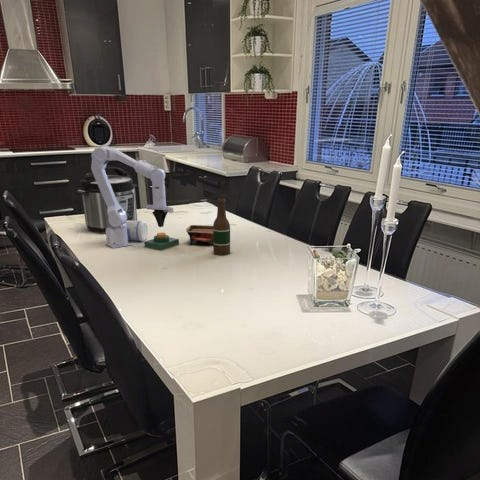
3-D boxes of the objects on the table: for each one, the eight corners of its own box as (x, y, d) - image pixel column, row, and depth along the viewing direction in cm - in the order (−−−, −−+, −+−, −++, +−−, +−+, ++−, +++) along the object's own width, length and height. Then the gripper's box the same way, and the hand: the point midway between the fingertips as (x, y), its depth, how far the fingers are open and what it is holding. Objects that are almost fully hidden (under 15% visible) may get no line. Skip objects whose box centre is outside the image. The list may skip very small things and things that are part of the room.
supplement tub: (142, 243, 224) (113, 242, 226) (149, 238, 232) (121, 236, 235) (139, 223, 219) (110, 222, 222) (147, 218, 228) (119, 217, 230)
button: (161, 238, 216) (161, 235, 215) (155, 237, 217) (155, 233, 217) (167, 237, 219) (167, 233, 218) (161, 235, 221) (160, 232, 220)
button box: (160, 250, 212) (160, 241, 210) (144, 247, 217) (143, 237, 215) (179, 244, 222) (178, 235, 220) (163, 241, 227) (162, 232, 225)
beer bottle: (228, 255, 206) (228, 200, 196) (211, 254, 207) (210, 199, 197) (231, 251, 213) (232, 197, 203) (215, 250, 214) (214, 196, 204)
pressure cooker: (80, 236, 234) (72, 170, 221) (85, 223, 259) (77, 164, 246) (141, 233, 241) (136, 169, 227) (140, 222, 266) (135, 163, 253)
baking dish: (217, 251, 219) (220, 231, 215) (181, 243, 221) (183, 222, 217) (223, 246, 232) (227, 226, 228) (189, 238, 234) (192, 218, 230)
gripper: (177, 197, 210) (178, 226, 216) (153, 193, 217) (154, 223, 223) (167, 199, 204) (168, 229, 210) (142, 196, 212) (144, 225, 217)
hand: (160, 226), depth 216 cm, fingers closed
